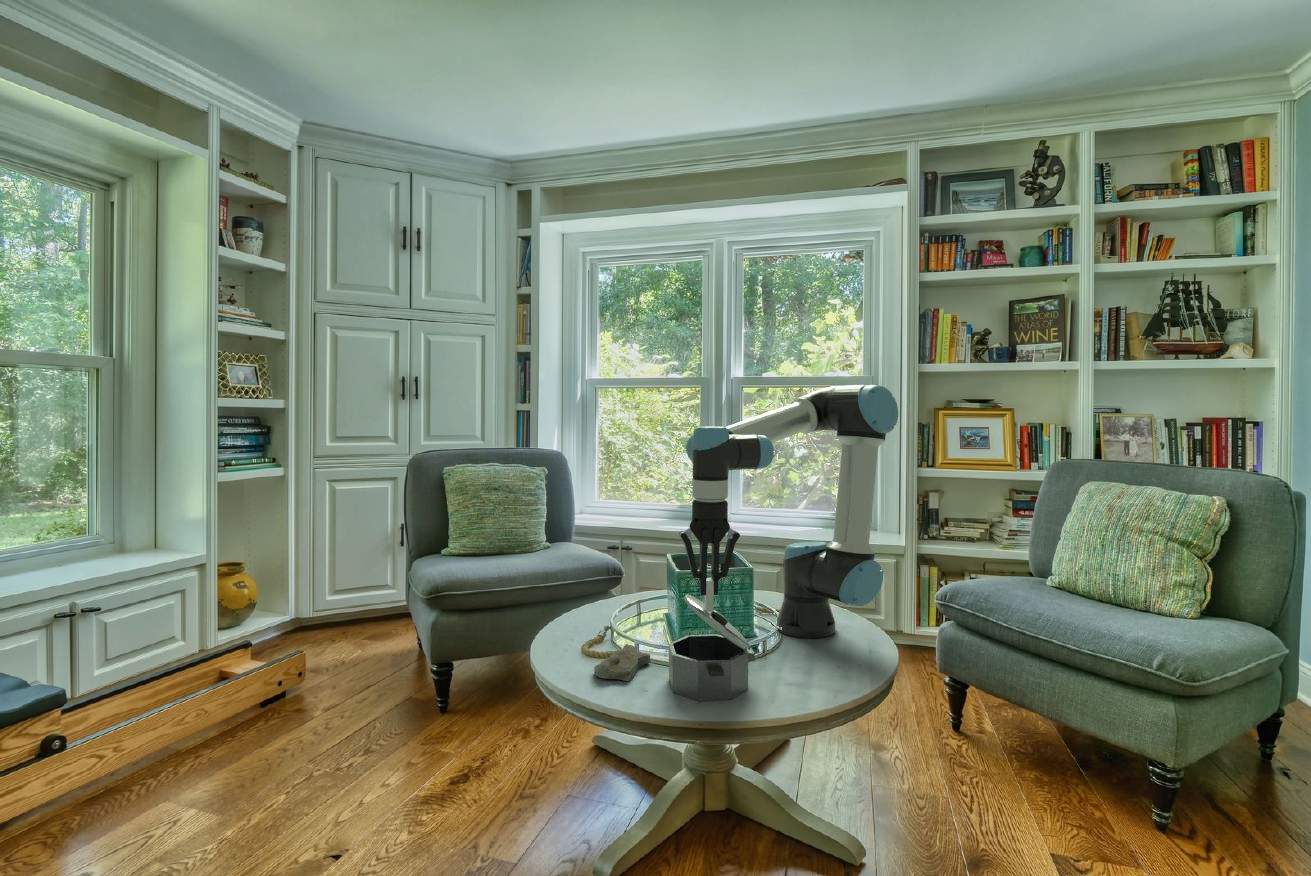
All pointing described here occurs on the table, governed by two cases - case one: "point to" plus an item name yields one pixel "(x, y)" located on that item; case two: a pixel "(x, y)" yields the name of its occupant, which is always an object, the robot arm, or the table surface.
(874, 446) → the robot arm
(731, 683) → the pot
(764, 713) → the table surface
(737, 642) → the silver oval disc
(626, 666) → the stone
